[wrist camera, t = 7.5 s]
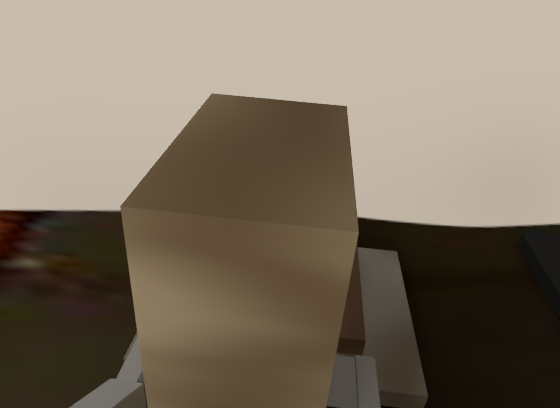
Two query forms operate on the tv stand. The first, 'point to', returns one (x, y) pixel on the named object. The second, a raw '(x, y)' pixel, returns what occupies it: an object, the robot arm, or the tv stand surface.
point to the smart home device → (544, 262)
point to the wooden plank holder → (381, 327)
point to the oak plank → (244, 255)
